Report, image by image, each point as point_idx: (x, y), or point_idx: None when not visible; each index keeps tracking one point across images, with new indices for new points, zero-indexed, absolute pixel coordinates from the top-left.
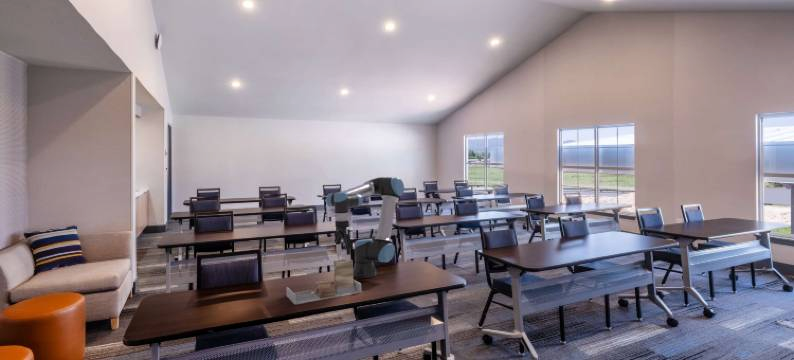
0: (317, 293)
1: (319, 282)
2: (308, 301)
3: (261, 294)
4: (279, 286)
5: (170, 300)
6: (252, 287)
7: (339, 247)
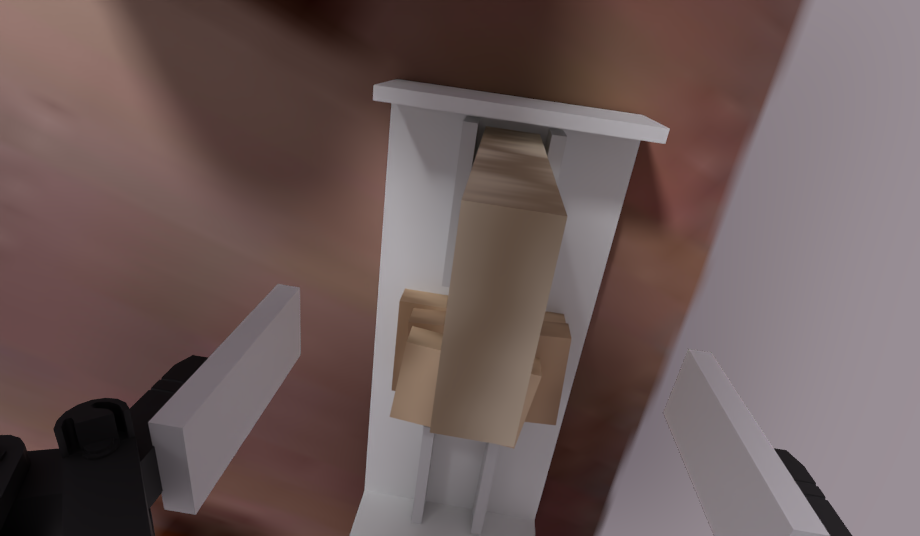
0: None
1: (424, 405)
2: (540, 465)
3: (221, 529)
4: None
5: None
6: None
7: (229, 409)
